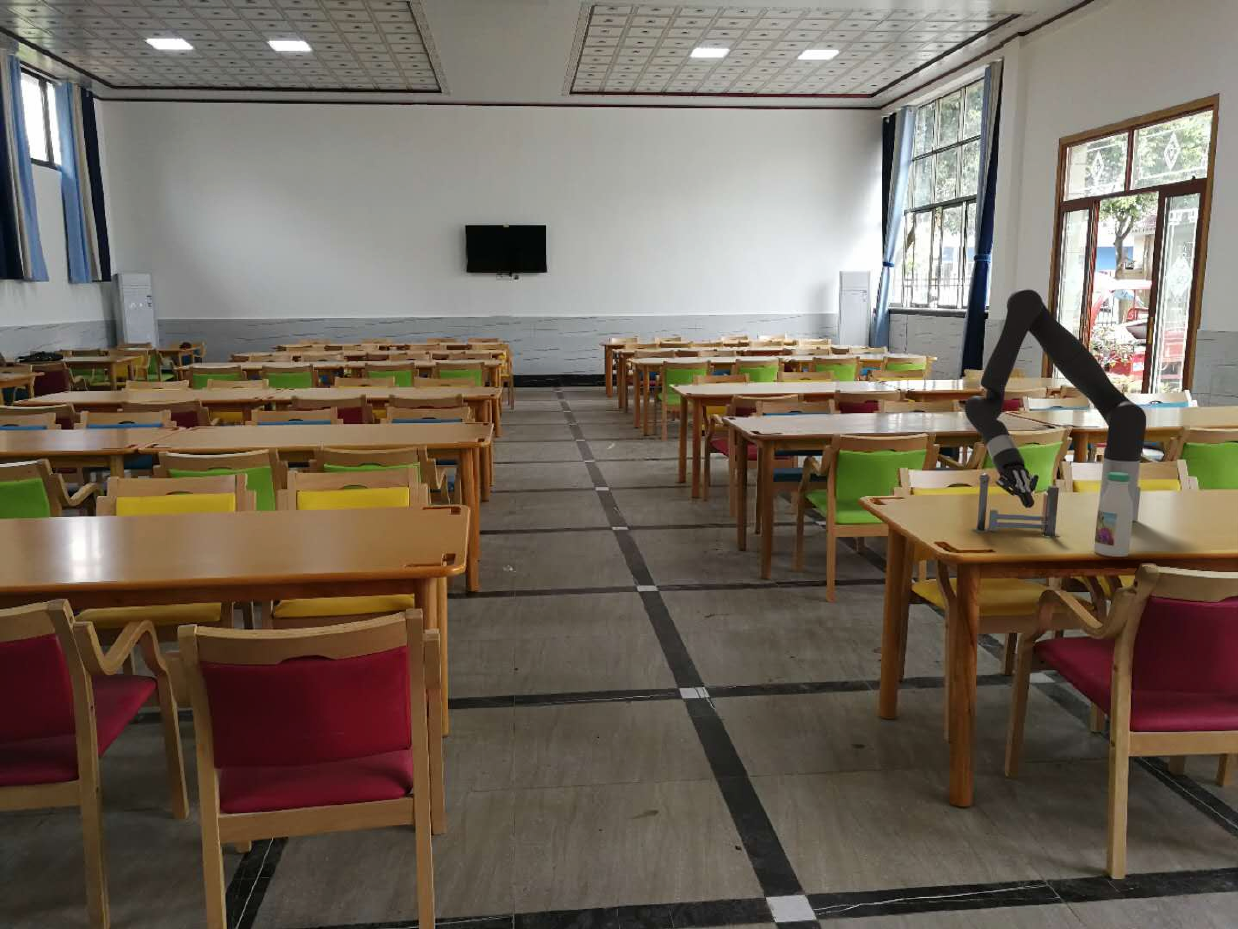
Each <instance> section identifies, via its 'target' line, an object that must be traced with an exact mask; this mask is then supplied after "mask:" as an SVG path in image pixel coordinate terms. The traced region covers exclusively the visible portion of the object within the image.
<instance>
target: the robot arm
mask: <svg viewBox="0 0 1238 929" xmlns="http://www.w3.org/2000/svg"><path fill="white" fill-rule="evenodd" d="M1006 302H1007V303H1006V310H1007V311H1006V316H1005V321H1004V324H1003V327H1002V331H1001V334H1000V336H999V339H998V341H997V343H996V345H995V347H994V348H993V350H992V353H991V355H990V357H989V359H988V362H987V365H986V366H985V368H984V371H983V374H982V376H981V379H980V385H981V387H982V388H984V389H986V393H985V396H980V395H973V396H970V397H969V398H967V400H966V402H965V403H964V412H965V416H966V418H967V419H968V421H969V422H970V424H971V425H972V426H973V427H974V428H975V430H976V431H977V432H978V433H979V435H981V437H982V440H983V442H984V444H985V446H986V449H987V451H988V455H989V457H990V458H991V461H992V463H993V465H994V467H995V469H996V471H997V473H998V474H999V477H998V479H997V480H996V481H995V484H996V485H997V486H999V487H1000V488H1001V489H1002V490H1004V491H1005V492H1007V493H1008V494H1009V495H1011V496H1017V498H1019V500H1020V501H1021V504H1022V506H1023V507H1025V509H1030V508H1032V507H1033V506H1034V505H1035V500H1034V498H1033V496H1032V493H1033V492H1034V491H1036V488H1037V485H1038V481H1039V478H1040V477H1039V475H1038V474H1035V475H1033V474H1031V473H1030V471H1029V470H1028V469H1027V468H1026V465H1025V463H1026V462H1025V460H1024V457H1023V456H1022V454H1021V452H1020V450H1019V448H1018V446H1017V444H1016V442H1015V440H1014V439H1013V438H1012V436H1011V434H1010V432H1009V430H1008V428H1007V426H1006V425H1005V424H1004V422H1002V421H1001V420H999V419H998V418H1000V416H1001V414H1002V412H1003V409H1004V400H1005V394H1006V387H1007V384H1008V381H1009V380H1010V377H1011V375H1012V372H1013V371H1014V370H1013V369H1014V367H1015V364H1016V360H1017V358H1018V355H1019V353H1020V349H1021V347H1022V345H1023V343H1024V340H1025V338H1026V336H1027V333H1028V332H1029V333H1030V334H1031V335H1032V336H1033V338H1035V340H1036V341H1037V342H1038V344H1039V346H1040V347H1041V349H1042V350H1043V352H1044V353H1045V355H1046V357H1048V359H1049V360H1050V361H1051V363H1052V365H1054V366H1055V368H1057V370H1058V371H1059V372H1060V373H1061V375H1062V376H1064V378H1065V379H1066V380H1067V381H1068V382H1069V383H1070V384H1071V385H1072V386H1073V387H1075V389H1077V390H1078V391H1079V392H1080V393H1082V395H1083V396H1085V397H1086V398H1087V399H1088V400H1089V402H1091V404H1093V406H1094V407H1095V409H1096V410H1097V411H1098V413H1099V414H1100V416H1101V417H1102V419H1103V420H1104V422H1105V423H1106V425H1107V426H1108V428H1107V436H1106V437H1107V438H1106V444H1105V447H1104V450H1103V457H1102V458H1103V460H1102V471H1101V480H1100V482H1101V483H1100V489H1099V490H1100V491H1099V501H1098V504H1099V503H1100V500H1101V498H1102V497H1103V495H1104V493H1105V492H1106V490H1107V487H1108V484H1109V482H1108V474H1109V473H1111V472H1120V473H1126V474H1129V475H1130V479H1129V483H1128V492H1129V495H1130V497H1131V500H1132V503H1133V521H1132V522H1136V521H1138V520H1139V519H1138V518H1139V509H1140V502H1141V501H1140V499H1141V490H1142V489H1141V487H1140V486H1139V476H1140V467H1141V458H1142V452H1143V450H1144V444H1145V437H1146V429H1147V415H1146V412H1145V411H1144V409H1143V408H1142V407H1141V406H1139V405H1138V404H1135V403H1134V402H1133V401H1132V400H1130V399H1129V398H1127V397H1126V396H1125V395H1124V394H1123V392H1122V391H1120V390H1119V389H1118V388H1117V387H1116V385H1114V383H1112V381H1111V380H1110V379H1109V376H1108V374H1107V373H1106V372H1105V370H1104V368H1103V367H1102V365H1101V364H1100V363H1099V360H1097V359H1096V357H1095V356H1094V355H1093V354H1092V352H1091V351H1090V350H1089V349H1088V348H1087V347H1086V346H1085V345H1084V344H1083V343H1082V341H1080V340H1079V339H1078V338H1077V337H1076V336H1075V335H1074V334H1073V333H1072V332H1071V331H1069V330H1068V329H1067V328H1066V327H1065V326H1064V325H1063V324H1061V323H1060V322H1059V321H1058V320H1057V319H1056V318H1055V317H1054V316H1053V315H1052V312H1050V310H1049V309H1048V307H1047V306H1046V305H1045V303H1044V302H1043V298H1042V296H1041V295H1040V294H1039V293H1038V292H1037V291H1036V290H1033V289H1031V288H1020V289H1017V290H1015V291H1014V292H1012V293H1011V294H1010V296H1009V297H1008V299H1007V301H1006Z"/></svg>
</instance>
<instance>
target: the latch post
mask: <svg viewBox="0 0 1238 929" xmlns="http://www.w3.org/2000/svg"><path fill="white" fill-rule="evenodd" d="M1047 486H1048V488H1047V493H1048V497H1047V509H1046V520H1045V532H1043V531H1039V533H1038V534H1040V535H1041V534H1042V535H1041V536H1043V535H1044V536H1049V537H1048V538H1061V536H1060V534H1058V533H1057V532H1056V528H1057V527H1056V526H1057V515H1058V514H1057V513H1058V504H1059V492H1060V487H1059V486H1058V485H1047ZM1044 536H1043V537H1044Z"/></svg>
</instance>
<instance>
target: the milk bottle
mask: <svg viewBox="0 0 1238 929" xmlns="http://www.w3.org/2000/svg"><path fill="white" fill-rule="evenodd" d="M1129 479H1130V475H1129V474H1126V473H1120V472H1111V473H1109V474H1108V482H1109V484H1108V487H1107V490H1106V492H1105V493H1104V495H1103V497H1102V498H1101V500H1100V499H1099V500H1100V503H1099V502H1098V508H1097V515H1096V525H1095V536H1094V545H1093V549H1094V552H1095V553H1096V554H1098V555H1102V556H1106V557H1107V556H1108V557H1112V558H1113V557H1114V558H1122V557H1128V556H1129V555H1130V551H1131V550H1130V549H1131V539H1132V529H1133V522H1134V521H1133V503H1132V500H1131V497H1130V495H1129V492H1128V483H1129Z"/></svg>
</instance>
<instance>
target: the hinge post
mask: <svg viewBox="0 0 1238 929" xmlns="http://www.w3.org/2000/svg"><path fill="white" fill-rule="evenodd" d="M978 478H979V482H980V483H979V495H978V496H979V497H978V506H977V507H978V509H977V510H978V511H977V521H976V527H974V528H972V531H973V532H975V533H981V532H987V533H989V531H990V529H989V528H986V517H987V505H988V494H989V493H988V491H989V482H990V480H991V479H990V478H991V477H990V475H989V474H987V473H982V474H980V476H979V477H978ZM981 534H982V533H981Z"/></svg>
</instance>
